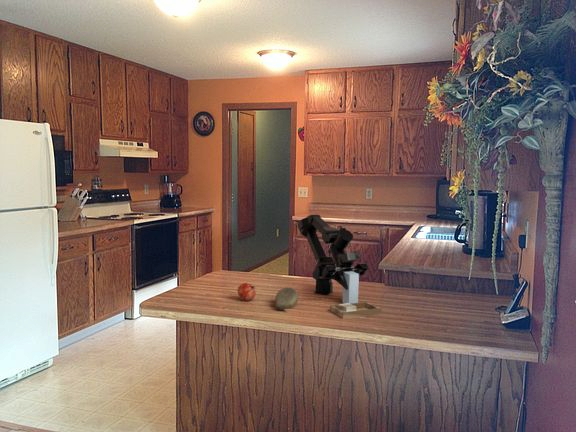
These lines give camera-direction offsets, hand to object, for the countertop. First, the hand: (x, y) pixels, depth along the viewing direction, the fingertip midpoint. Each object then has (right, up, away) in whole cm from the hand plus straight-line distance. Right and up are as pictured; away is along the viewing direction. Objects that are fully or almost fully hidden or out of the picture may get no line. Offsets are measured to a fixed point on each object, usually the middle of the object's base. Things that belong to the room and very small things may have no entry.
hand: (352, 288), depth 186 cm
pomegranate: (-42, -6, +9) cm, 44 cm away
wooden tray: (0, -8, -9) cm, 12 cm away
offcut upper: (-3, -6, -10) cm, 12 cm away
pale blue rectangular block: (-1, -6, +2) cm, 7 cm away
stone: (-26, -8, +1) cm, 27 cm away
